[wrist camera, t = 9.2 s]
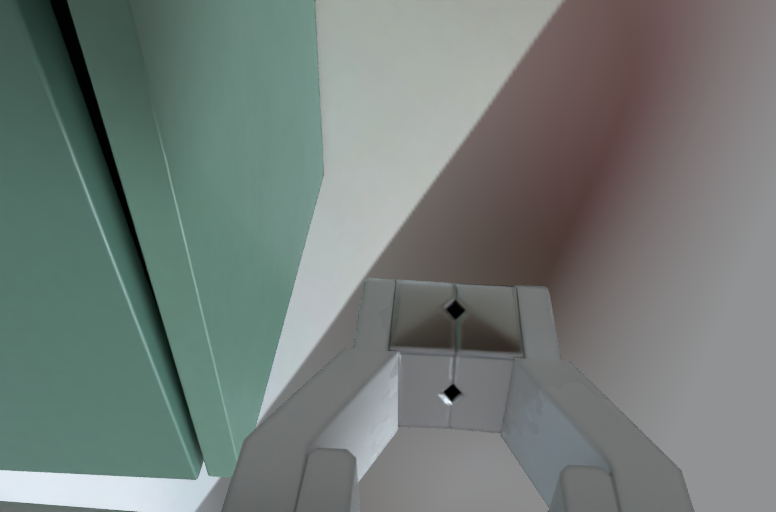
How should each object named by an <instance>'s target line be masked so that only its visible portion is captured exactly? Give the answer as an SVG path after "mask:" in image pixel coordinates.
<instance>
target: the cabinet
mask: <svg viewBox="0 0 776 512" xmlns="http://www.w3.org/2000/svg"><path fill="white" fill-rule="evenodd" d="M203 461H204V459H203V455H202V452H201V449H200V445H199V442H198V439H197V435H196V432H195V429H194V425H193V422H192V418H191V415H190V412H189V408H188V405H187V402H186V398H185V395H184V392H183V388H182V385H181V382H180V378H179V375H178V371H177V368H176V365H175V361H174V358H173V355H172V351H171V348H170V345H169V341H168V338H167V335H166V331H165V328H164V324H163V321H162V318H161V314H160V311H159V308H158V304H157V301H156V298H155V294H154V291H153V288H152V284H151V281H150V277H149V274H148V271H147V267H146V264H145V261H144V257H143V254H142V251H141V247H140V244H139V241H138V237H137V234H136V230H135V227H134V224H133V220H132V217H131V214H130V210H129V207H128V204H127V200H126V197H125V194H124V190H123V187H122V183H121V180H120V177H119V173H118V170H117V167H116V163H115V160H114V157H113V153H112V150H111V147H110V143H109V140H108V136H107V133H106V130H105V126H104V123H103V120H102V116H101V113H100V110H99V106H98V103H97V100H96V96H95V93H94V89H93V86H92V83H91V79H90V76H89V73H88V69H87V66H86V63H85V59H84V56H83V53H82V49H81V46H80V42H79V39H78V36H77V32H76V29H75V26H74V22H73V19H72V16H71V12H70V9H69V6H68V2H67V0H0V470H12V471H32V472H52V473H71V474H91V475H111V476H131V477H151V478H171V479H191V480H196V479H197V478H198V476H199V473H200V470H201V467H202V464H203Z"/></svg>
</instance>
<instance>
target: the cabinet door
mask: <svg viewBox="0 0 776 512" xmlns="http://www.w3.org/2000/svg"><path fill="white" fill-rule="evenodd" d="M67 2H68V6H69V9H70V12H71V16H72V19H73V22H74V26H75V29H76V32H77V36H78V39H79V42H80V46H81V49H82V53H83V56H84V59H85V63H86V66H87V69H88V73H89V76H90V79H91V83H92V86H93V89H94V93H95V96H96V100H97V103H98V106H99V110H100V113H101V116H102V120H103V123H104V126H105V130H106V133H107V136H108V140H109V143H110V147H111V150H112V153H113V157H114V160H115V163H116V167H117V170H118V173H119V177H120V180H121V183H122V187H123V190H124V194H125V197H126V200H127V204H128V207H129V210H130V214H131V217H132V220H133V224H134V227H135V230H136V234H137V237H138V241H139V244H140V247H141V251H142V254H143V257H144V261H145V264H146V267H147V271H148V274H149V277H150V281H151V284H152V288H153V291H154V294H155V298H156V301H157V304H158V308H159V311H160V314H161V318H162V321H163V324H164V328H165V331H166V335H167V338H168V341H169V345H170V348H171V351H172V355H173V358H174V361H175V365H176V368H177V371H178V375H179V378H180V382H181V385H182V388H183V392H184V395H185V398H186V402H187V405H188V408H189V412H190V415H191V418H192V422H193V425H194V429H195V432H196V435H197V439H198V442H199V445H200V449H201V452H202V455H203V459H204V462H205V465H206V469H207V472H208V475H209V476H217V477H232V476H233V473H234V470H235V466H236V463H237V460H238V457H239V454H240V451H241V447H242V444H243V441H244V439H245V438H246V437H247V436H248V435H249V434H251V433H252V432H253V431H254V430H255V427H256V424H257V420H258V416H259V412H260V409H261V405H262V401H263V398H264V394H265V390H266V387H267V383H268V379H269V376H270V372H271V368H272V364H273V361H274V357H275V353H276V350H277V346H278V342H279V339H280V335H281V331H282V327H283V324H284V320H285V316H286V313H287V309H288V305H289V302H290V298H291V294H292V290H293V287H294V283H295V279H296V276H297V272H298V268H299V265H300V261H301V257H302V253H303V250H304V246H305V242H306V239H307V235H308V231H309V228H310V224H311V220H312V216H313V213H314V209H315V205H316V202H317V198H318V194H319V191H320V187H321V183H322V179H323V176H324V167H323V148H322V129H321V110H320V91H319V72H318V53H317V34H316V15H315V0H67Z"/></svg>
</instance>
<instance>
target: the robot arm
mask: <svg viewBox="0 0 776 512" xmlns="http://www.w3.org/2000/svg"><path fill="white" fill-rule="evenodd" d="M398 427H420V428H446V429H447V428H448V429H458V430H470V431H481V432H491V433H501V437H502V438H503V440H504V441H505V443H506V444H507V446H508V447H509V449H510V450H511V452H512V453H513V455H514V456H515V458H516V459H517V461H518V462H519V464H520V465H521V467H522V468H523V470H524V471H525V473H526V474H527V476H528V477H529V479H530V480H531V482H532V483H533V485H534V486H535V488H536V489H537V491H538V492H539V494H540V495H541V497H542V498H543V500H544V501H545V503H546V504H547V506H548V507H549V511H548V512H694V509H693V506H692V503H691V500H690V497H689V494H688V490H687V487H686V484H685V481H684V478H683V474H682V471H681V470H680V469H679V468H678V467H677V466H676V465H675V464H674V463H673V462H672V461H671V460H670V459H669V458H668V457H667V456H666V455H665V454H664V453H663V452H662V451H661V450H660V449H659V448H658V447H657V446H656V445H655V444H654V443H653V442H652V441H651V440H650V439H649V438H648V437H647V436H646V435H645V434H644V433H643V432H642V431H641V430H640V429H639V428H638V427H637V426H636V425H635V424H634V423H633V422H632V421H631V420H630V419H629V418H628V417H627V416H626V415H625V414H624V413H623V412H622V411H621V410H619V408H617V406H616V405H615V404H614V403H612V401H611V400H609V399H608V397H606V396H605V395H604V394H603V393H602V392H601V391H600V390H599V389H598V388H597V387H596V386H595V385H594V384H593V383H592V382H591V381H590V380H589V379H588V378H587V377H586V376H585V375H584V374H583V373H582V372H581V371H580V370H579V369H578V368H577V367H576V366H575V365H574V364H573V363H572V362H571V361H561V356H560V350H559V345H558V339H557V334H556V328H555V323H554V317H553V312H552V307H551V301H550V296H549V290H548V289H547V288H546V287H545V286H515V287H514V286H503V285H478V284H454V283H440V282H426V281H412V280H397V281H396V280H390V279H376V278H367V279H366V281H365V283H364V287H363V293H362V298H361V304H360V310H359V316H358V322H357V328H356V334H355V339H354V345H353V349H348V348H344V349H343V350H342V351H341V352H340V353H338V354H337V355H336V356H335V357H334V358H333V359H332V360H331V361H330V362H329V363H327V364H326V365H325V366H324V367H323V368H322V369H321V370H320V371H319V372H318V373H317V374H315V375H314V376H313V377H312V378H311V379H310V380H309V381H308V382H307V383H306V384H305V385H303V386H302V387H301V388H300V389H299V390H298V391H297V392H296V393H294V394H293V395H292V396H291V397H290V398H289V399H288V400H287V401H286V402H285V403H283V405H281V406H280V407H279V408H278V409H277V410H276V411H275V412H274V413H272V414H271V415H270V416H269V417H268V418H267V419H266V420H265V421H264V422H263V423H261V424H260V425H259V426H258V427H257V428H256V429H255V430H254V431H253V432H252V433H251V434H249V435H248V436H247V437H246V438H245V439H244V441H243V444H242V447H241V451H240V454H239V457H238V460H237V463H236V466H235V470H234V473H233V476H232V479H231V482H230V485H229V489H228V492H227V495H226V498H225V502H224V505H223V508H222V511H221V512H360V504H359V490H358V482H359V481H360V479H361V478H362V477H363V475H364V474H365V473H366V471H367V470H368V469H369V467H370V466H371V465H372V463H373V462H374V461H375V459H376V458H377V457H378V455H379V454H380V453H381V451H382V450H383V449H384V448H385V446H386V445H387V444H388V442H389V441H390V440H391V438H392V437H393V436H394V434H395V433H396V432H397V430H398ZM0 512H135V511H122V510H109V509H96V508H83V507H70V506H57V505H44V504H31V503H19V502H6V501H0Z"/></svg>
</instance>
